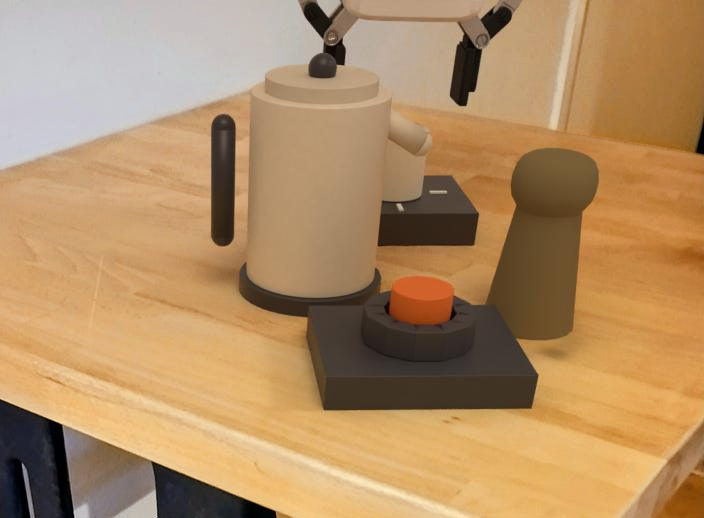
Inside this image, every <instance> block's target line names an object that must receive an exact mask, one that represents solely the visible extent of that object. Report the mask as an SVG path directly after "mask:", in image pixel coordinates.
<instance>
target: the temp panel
mask: <svg viewBox="0 0 704 518" xmlns="http://www.w3.org/2000/svg"><path fill="white" fill-rule="evenodd" d="M479 217H480V212H479V210H477V208H476V207H475V205H474V204H473V202H472V201H471V200H470V198H469V197H468V196H467V195H466V193H465V191H464V190H463V189H462V187H461V186H460V184H459V183H458V182H457V181H456V179H455V178H454V176H453V175H451V174H450V175H446V174H445V175H444V174H440V175H439V174H438V175H437V174H431V175H429V174H427V175H426V174H424V179H423V187H422V194H421V196H420V197H419V198H417V199H415V200H411V201H404V202H389V201H382V204H381V214H380V224H379V234H378V244H377V246H474V245H475V243H476V236H477V230H478V225H479V224H478V223H479Z"/></svg>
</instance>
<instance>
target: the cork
mask: <svg viewBox="0 0 704 518" xmlns="http://www.w3.org/2000/svg"><path fill="white" fill-rule="evenodd" d="M599 181H600V170H599V167H598V164H597V162H596V161H595V160H594V158H592V157H590V155H588V154H586V153H584V152H582V151H577V150H574V149H570V148H569V149H568V148H563V147H561V148H560V147H545V148H537V149H532V150H529V151H528V152H526V153H524V154H522V155H521V157H520V158H519V159H518V160H517V162H516V163H515V166H514V169H513V171H512V174H511V178H510V195H511V197H512V200H513V201H514V203H515V207H514V210H513V213H512V217H511V221H510V224H509V226H508V230H507V233H506V237H505V240H504V243H503V246H502V250H501V252H500V256H499V258H498V263H497V265H496V268H495V272H494V276H493V279H492V282H491V285H490V289H489V292H488V294H487V297H486V301H485V304H484V305H495V306H496V308H497V309H498V311H499V312H500V314H501V316H502V317H503V319H504V320H505V322H506V324H507V325H508V327H509V329H510V330H511V332H512V333H513V335H514V337H515V338H516V340H517V339H518V340H526V341H551V340H558V339H560V338H563V337H567V336H568V335H569V334H570V333H571V332H573V330H574V320H575V307H576V297H577V296H576V295H577V282H578V271H579V261H580V260H579V258H580V247H581V235H582V223H583V213H584V211H585V210H586V209H587V208H588V207H589V206H590V205H591V204H592V203H593V201H594V199H595V196H596V194H597V191H598V187H599Z"/></svg>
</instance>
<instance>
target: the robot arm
mask: <svg viewBox="0 0 704 518" xmlns="http://www.w3.org/2000/svg"><path fill="white" fill-rule="evenodd" d="M297 2H298V3H299V7H300V10H301V12H302V15H303V16H304V18H305V19H306V21H307V22H308V23H309V24H310V25H311V27H312V28H313V29H314V30H315V32H316V33H317V34H318V35H319V37H320V38H321V39H322V40H323V47H322V53H327V54H330V55H331V56H332V57H333V58H334V59H335V61H336V64H337V65H343V66H346V54H347V48H346V46H345V45H344V43H343V42H344V37H345V35H346V34H347V33H348V32H349V31H350V30H351V28H352V27H353V26H354V25H355V24H356V22H357V21H358V20H365V21H377V22H408V23H409V22H412V23H415V22H416V23H456V24H457V25H458V27H459V29H460V30H461V33H462V39H461V40H460V41H459V43H457V44H456V49H455V55H454V60H453V67H452V68H453V69H452V75H451V82H450V89H449V98H450V99H451V100H452V101H453V102H454V103H455V104H456V105H457V106H458V107H467V106H468V101H469V95H470V93H475V92H476V89H477V85H478V80H479V73H480V66H481V61H482V54H483V50H484V49H485V48H487V47H488V46H489V44H490V42H491V40H493V38H494V37H495V36H497V35H498V34H499V33H500V32H501V31H502V30H503V29H505V28H506V26H508V25H509V23H510V22H511V20H512V19H513V16H514V14H515V12H516V11H517V10H518V8H519V6H520V5H521V4H522V2H523V0H498V1H497V3H496V4H495V5H494V6H493V7H492V8H491V9H489V10H488V11H487V12H485V14H484V15H483V16H482V17H481V18H480V16H479V14H480V12H481V11H482V8H483V6H484V2H485V0H339V2H340V3H339V4H338V5H337V6H336V7H335V8H334V9H333V10H332V12H331V13H330V14H329V15H327V14H326V13H325V12H324V10H323V9H322V7H321V6H320V5H319V2H318V0H297Z"/></svg>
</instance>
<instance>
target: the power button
mask: <svg viewBox="0 0 704 518" xmlns="http://www.w3.org/2000/svg"><path fill="white" fill-rule="evenodd" d="M390 290H391V298H390V307H389V315H390V316H391V317H393V318H395V319H397V320H399V321H403V322H407V323H412V324H439V323H443V322H446V321H449V320H450V317H451V311H452V304H453V297H454V295H455V288H454V286H453V285H452V284H451V283H449V282H448V281H445V280H443V279H440V278H437V277H432V276H425V275H411V276H405V277H404V276H403V277H401V278H400V277H399V278H398V279H396V280H395V281H393V283H392V284H391V289H390Z"/></svg>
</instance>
